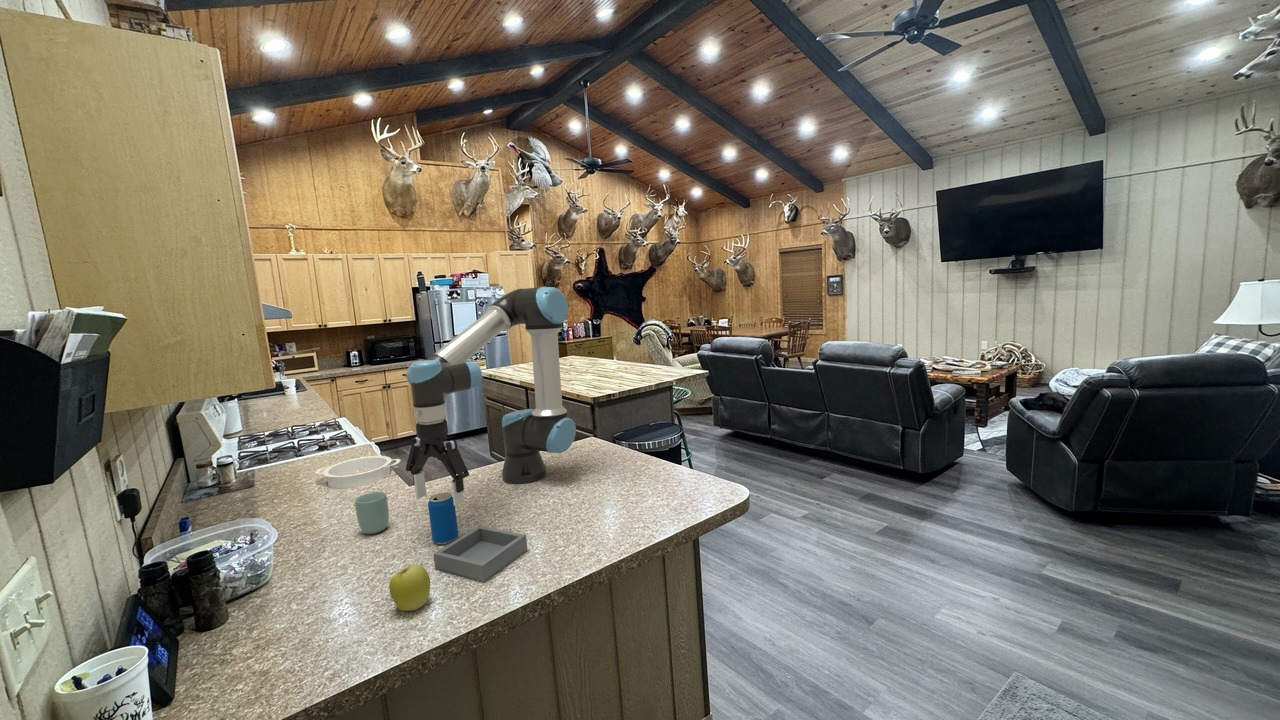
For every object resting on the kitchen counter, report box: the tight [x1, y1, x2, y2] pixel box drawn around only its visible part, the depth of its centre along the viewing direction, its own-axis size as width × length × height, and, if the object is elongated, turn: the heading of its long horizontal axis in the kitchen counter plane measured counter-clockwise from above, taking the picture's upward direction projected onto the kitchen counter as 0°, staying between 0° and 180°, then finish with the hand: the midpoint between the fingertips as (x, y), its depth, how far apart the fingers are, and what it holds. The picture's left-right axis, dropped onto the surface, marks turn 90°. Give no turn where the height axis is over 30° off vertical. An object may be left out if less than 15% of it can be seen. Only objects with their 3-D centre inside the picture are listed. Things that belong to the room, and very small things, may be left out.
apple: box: [388, 564, 431, 612], centre depth 109 cm, size 8×8×10 cm
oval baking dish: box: [314, 455, 401, 489], centre depth 191 cm, size 29×22×5 cm
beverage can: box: [427, 492, 459, 545], centre depth 137 cm, size 6×6×12 cm
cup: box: [354, 491, 390, 535], centre depth 145 cm, size 8×8×10 cm
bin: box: [433, 525, 528, 583], centre depth 126 cm, size 15×15×4 cm
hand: (439, 500), depth 136 cm, fingers open, 13 cm apart
